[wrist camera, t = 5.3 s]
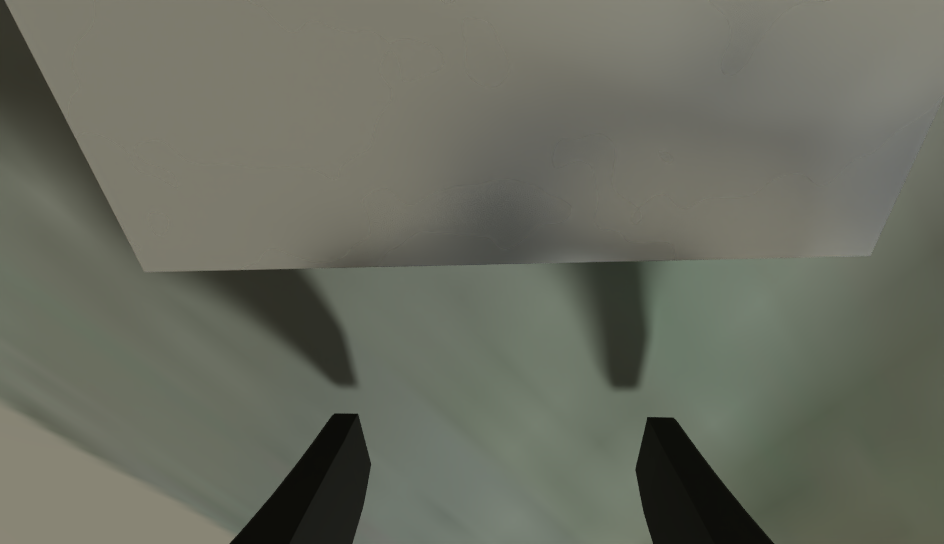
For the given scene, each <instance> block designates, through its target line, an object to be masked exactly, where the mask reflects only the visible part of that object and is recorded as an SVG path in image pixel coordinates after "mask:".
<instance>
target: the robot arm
mask: <svg viewBox="0 0 944 544" xmlns="http://www.w3.org/2000/svg"><path fill="white" fill-rule="evenodd" d="M370 467H371V462H370V458H369V454H368V451H367V447H366V443H365V439H364V435H363V431H362V427H361V423H360V419H359V416H358V414H334V415H333V416H331V418H330V419H329V421H328V422H327V423H326V425H325V426H324V428H323V429H322V430H321V432H320V433H319V434H318V436H317V437H316V439H315V440H314V441H313V443H312V444H311V445H310V447H309V448H308V449H307V451H306V452H305V453H304V455H303V456H302V457H301V459H300V460H299V461H298V463H297V464H296V465H295V467H294V468H293V469H292V470H291V472H290V473H289V474H288V476H287V477H286V478H285V479H284V481H283V482H282V483H281V484H280V486H279V487H278V488H277V489H276V491H275V492H274V493H273V494H272V496H271V497H270V498H269V499H268V500H267V502H266V503H265V504H264V505H263V506H262V507H261V509H260V510H259V511H258V512H257V513H256V514H255V516H254V517H253V518H252V519H251V520H250V521H249V523H248V524H247V525H246V526H245V527H244V528H243V529H242V531H241V532H240V533H239V534H238V535H237V536H236V537H235V538H234V539H233V540H232V541H231V543H230V544H352V543H353V540H354V536H355V533H356V529H357V526H358V523H359V519H360V516H361V512H362V509H363V505H364V500H365V495H366V490H367V484H368V479H369V473H370ZM635 470H636V475H637V480H638V486H639V491H640V496H641V501H642V506H643V511H644V515H645V518H646V522H647V525H648V528H649V532H650V535H651V538H652V542H653V544H774V543H773V542H772V541H771V539H770V538H769V537H768V536H767V535H766V534H765V533H764V531H763V530H762V529H761V528H760V527H759V526H758V525H757V523H756V522H755V521H754V520H753V519H752V518H751V516H750V515H749V514H748V513H747V512H746V511H745V509H744V508H743V507H742V506H741V504H740V503H739V502H738V501H737V499H736V498H735V497H734V496H733V495H732V493H731V492H730V491H729V490H728V488H727V487H726V486H725V485H724V484H723V482H722V481H721V480H720V478H719V477H718V476H717V475H716V473H715V472H714V471H713V469H712V468H711V467H710V465H709V464H708V463H707V462H706V460H705V459H704V458H703V456H702V455H701V454H700V452H699V451H698V450H697V448H696V447H695V445H694V444H693V443H692V441H691V440H690V439H689V437H688V436H687V434H686V433H685V432H684V430H683V429H682V427H681V426H680V425H679V423H678V422H677V421H676V420H675V419H674V418H665V417H647V422H646V426H645V430H644V435H643V439H642V443H641V448H640V452H639V456H638V461H637V465H636V469H635Z"/></svg>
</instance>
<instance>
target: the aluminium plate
mask: <svg viewBox="0 0 944 544" xmlns="http://www.w3.org/2000/svg"><path fill="white" fill-rule="evenodd" d="M5 2H6V4H7V6H8V8H9V10H10V12H11V14H12V16H13V18H14V20H15V22H16V24H17V26H18V27H19V29H20V31H21V33H22V35H23V37H24V39H25V41H26V43H27V45H28V47H29V49H30V51H31V53H32V55H33V57H34V59H35V61H36V62H37V64H38V66H39V68H40V70H41V72H42V74H43V76H44V78H45V80H46V82H47V84H48V86H49V88H50V90H51V92H52V94H53V95H54V97H55V99H56V101H57V103H58V105H59V107H60V109H61V111H62V113H63V115H64V117H65V119H66V121H67V123H68V125H69V127H70V128H71V130H72V132H73V134H74V136H75V138H76V140H77V142H78V144H79V146H80V148H81V150H82V152H83V154H84V156H85V158H86V160H87V162H88V163H89V165H90V167H91V169H92V171H93V173H94V175H95V177H96V179H97V181H98V183H99V185H100V187H101V189H102V191H103V193H104V195H105V196H106V198H107V200H108V202H109V204H110V206H111V208H112V210H113V212H114V214H115V216H116V218H117V220H118V222H119V224H120V226H121V228H122V230H123V231H124V233H125V235H126V237H127V239H128V241H129V243H130V245H131V247H132V249H133V251H134V253H135V255H136V257H137V259H138V261H139V263H140V264H141V266H142V268H143V270H144V272H172V271H217V270H262V269H307V268H352V267H396V266H441V265H486V264H531V263H576V262H621V261H665V260H710V259H755V258H800V257H845V256H870V255H871V253H872V251H873V249H874V247H875V245H876V242H877V240H878V238H879V236H880V234H881V232H882V229H883V227H884V225H885V223H886V221H887V219H888V217H889V214H890V212H891V210H892V208H893V206H894V204H895V201H896V199H897V197H898V195H899V193H900V191H901V189H902V186H903V184H904V182H905V180H906V178H907V176H908V173H909V171H910V169H911V167H912V165H913V163H914V161H915V158H916V156H917V154H918V152H919V150H920V148H921V145H922V143H923V141H924V139H925V137H926V135H927V132H928V130H929V128H930V126H931V124H932V122H933V120H934V117H935V115H936V113H937V111H938V109H939V107H940V104H941V102H942V100H943V98H944V0H5Z"/></svg>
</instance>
